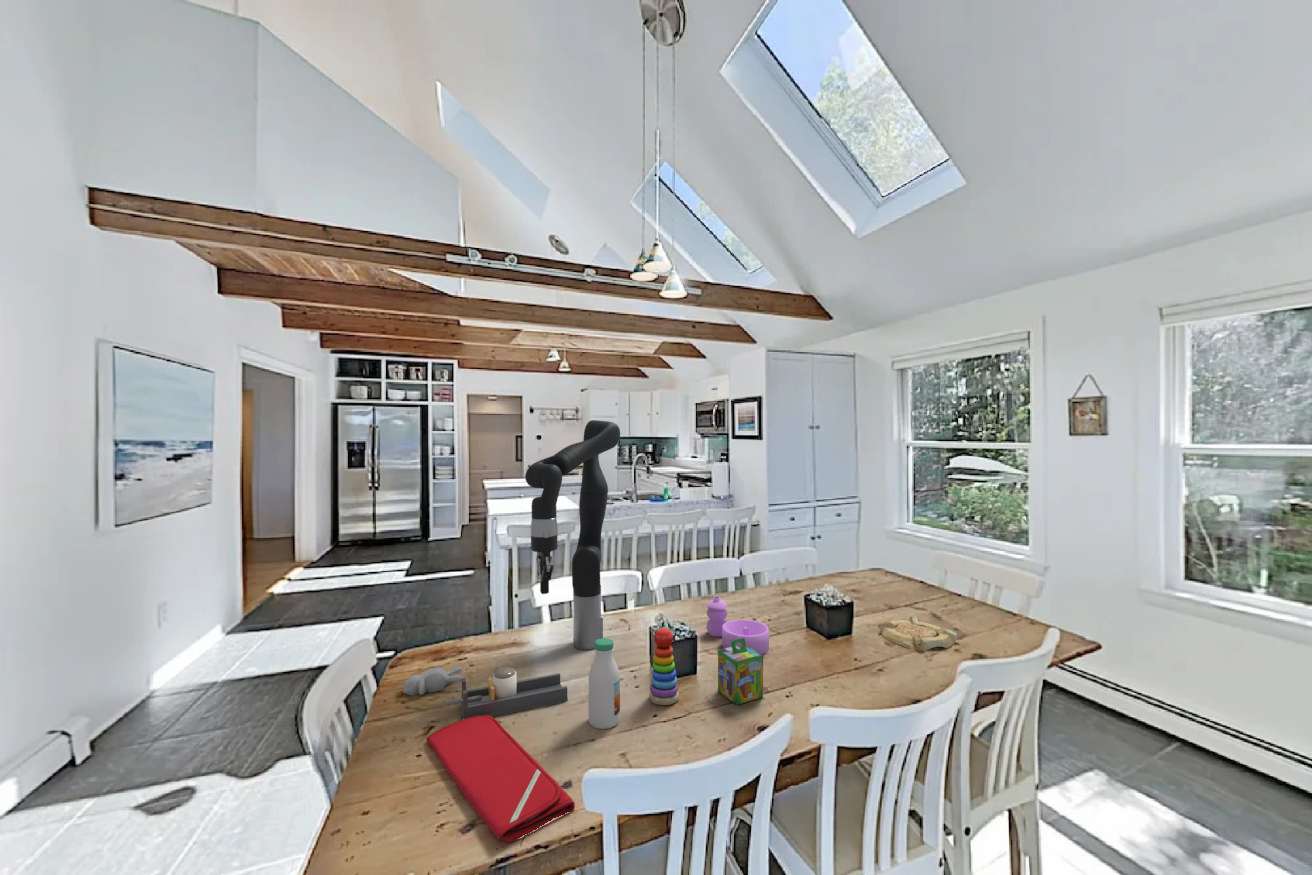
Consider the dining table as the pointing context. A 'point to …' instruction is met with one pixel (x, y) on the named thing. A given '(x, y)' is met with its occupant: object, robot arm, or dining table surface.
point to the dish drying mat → (499, 777)
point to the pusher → (478, 697)
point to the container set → (736, 628)
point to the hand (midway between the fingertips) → (544, 593)
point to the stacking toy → (663, 670)
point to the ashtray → (917, 634)
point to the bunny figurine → (431, 680)
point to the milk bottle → (604, 687)
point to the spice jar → (505, 683)
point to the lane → (516, 697)
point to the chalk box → (740, 673)
